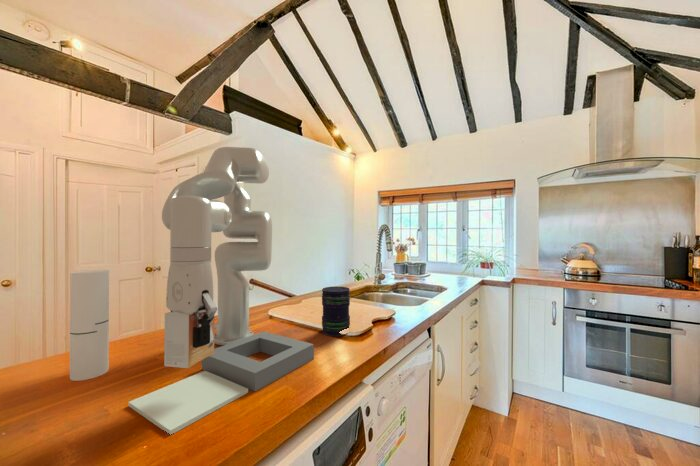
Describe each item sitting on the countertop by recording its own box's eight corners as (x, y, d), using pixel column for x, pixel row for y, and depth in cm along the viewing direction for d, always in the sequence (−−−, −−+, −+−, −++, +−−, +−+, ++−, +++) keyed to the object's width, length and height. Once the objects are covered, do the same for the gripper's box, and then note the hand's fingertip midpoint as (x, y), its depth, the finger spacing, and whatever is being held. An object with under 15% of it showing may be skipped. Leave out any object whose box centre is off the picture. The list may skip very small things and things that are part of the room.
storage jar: (326, 337, 97) (326, 292, 97) (318, 328, 106) (318, 287, 106) (354, 334, 101) (354, 290, 101) (344, 325, 110) (344, 285, 110)
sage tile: (128, 405, 58) (128, 401, 58) (204, 373, 72) (205, 370, 72) (170, 435, 50) (170, 430, 50) (248, 392, 63) (248, 388, 63)
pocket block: (201, 369, 74) (201, 353, 74) (263, 344, 91) (263, 331, 91) (255, 391, 64) (255, 373, 64) (313, 358, 81) (313, 344, 81)
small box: (187, 369, 56) (188, 314, 57) (163, 366, 58) (163, 312, 58) (215, 353, 64) (215, 304, 64) (193, 351, 65) (193, 303, 66)
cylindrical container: (115, 369, 74) (115, 270, 74) (81, 382, 68) (82, 273, 68) (96, 365, 77) (97, 269, 77) (62, 377, 70) (63, 272, 70)
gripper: (151, 255, 63) (150, 339, 62) (197, 259, 53) (197, 357, 53) (186, 253, 69) (186, 329, 69) (233, 256, 60) (233, 344, 59)
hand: (190, 341), depth 61 cm, fingers closed on small box, 7 cm apart
